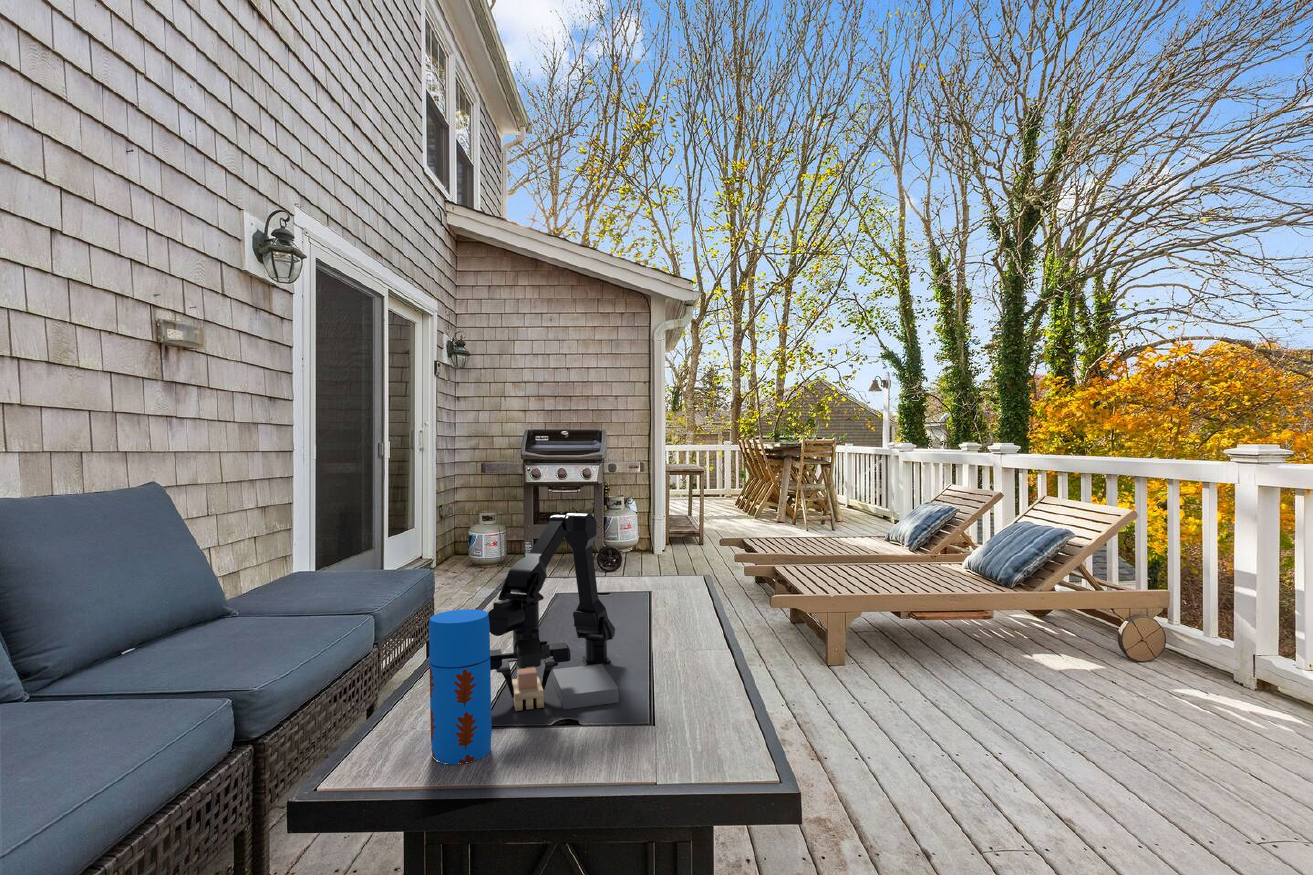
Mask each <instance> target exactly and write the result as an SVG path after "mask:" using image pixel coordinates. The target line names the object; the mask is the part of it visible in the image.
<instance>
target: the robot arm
mask: <svg viewBox="0 0 1313 875" xmlns="http://www.w3.org/2000/svg"><path fill="white" fill-rule="evenodd" d="M547 522H548V524H547V525H546V526H545V528H544V530H543V531H542V533H541V535H540V536H539V537H538V539H537V540H536V542H535V543H534V545H533V547H532V548H531V549H530V551H529V553H527V555H526V556H525V557H523V558H521V559H519V560H518V561H516V563H514V564H513V566H512V567H510V569H509V570H508V572H507V575H506V577H505V580H504V582H503V585H502V587H501V590H500V592H499V595H498V597H497V599H498V601H494V602H493V604H492V608H491V609H490V610H489V611H487V612H488V616H489V623H490V635H493V636H496V637H500V636H504V635H505V634H508V633H510V632H511V633H512V651H513V652H507V653H502V650H501V648H499V649H490V671H495V672H496V673H498V674H499V673H500V674H501V675H503V676H502V677H504V680H505V682H506V684H507V687H508V689H509V690H508V691H509V694H510V697H511V698H512V699H513V697H514V690H513V683H512V679H513V678H512V672H511V671H512V670H511V666H510V663H513V662H516V663H517V667H518V669H526V668H538V667H541V672H540V682H541V685H542V688H543V691H544V692H545V689H546V685H547V682H548V679H549V676H550V673H551V672H552V669H554V668H555V667H558V666H559V663H567V662H571V659H572V658H571V655H572V654H571V649H570V647H569V646H568V644H567V643H566V642H556V643H550V640H543V641H541V640H540V608H539V601H543V600H544V598H545V597H544V596H543V594H541V593H540V591H541V590H542V589H543V587H544V583H545V582H546V579H547V577H548V576H547V567H548V565H549V563H550V561H551V560H552V558H553V557H554V555H555V554H556V551H558V549H559V547H560V545H561V543H562V542H563V540H564V541H565V542H566V543H567V544H568V545H569V547H570V548H571V550H572V556H573V562H574V564H573V565H574V571H575V577H576V578H575V579H576V586H577V595H578V606H577V607H576V609H575V610H574V611H573V613H572V617H573V627H574V628H575V632H576V636H577V638H578V639H584V646H585V647H584V649H585V650H584V652H585V656H582V661H583V662H584V664H585V666H588V665H596V664H602V665H605V664H610V663H612V660H611V659H610V657H609V656H608V641H610V640H611V641H612V640H614V637H615V634H616V633H615V632H616V628H615V627H614V624H613V623H612V621H611V620H610V618H609V617H608V613H607V612H608V611H607V608H606V606H605V605H604V603H602V601H601V600H600V599H599V594H598V586H597V584H598V583H597V576H596V569H595V562H594V554H593V544H594V542H595V539H596V538H597V535H598V534H597V528H598V522H597V518H596V517H595V516H594V515H593V513H590V512H589V513H586V512H585V513H583V512H582V513H580V512H568V513H566V514H553V515H551V516H549V518H548V521H547Z"/></svg>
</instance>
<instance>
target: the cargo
mask: <svg viewBox="0 0 1313 875" xmlns="http://www.w3.org/2000/svg"><path fill="white" fill-rule="evenodd" d="M537 676H538V672H537V669H536V667H526V668H523V669H522V668H518V669H516V679H517V684H518V688H519V689H524V688H533V687H537Z"/></svg>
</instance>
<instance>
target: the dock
mask: <svg viewBox="0 0 1313 875" xmlns="http://www.w3.org/2000/svg"><path fill="white" fill-rule="evenodd" d="M551 672H552V684H553V687H554V688H555V691H556V694H557V696H558V698H559V701H560V704H561V706H562V709H563V710H570V709H578V708H585V707H592V706H593V707H594V706H601V705H608V704H615V703H616V704H617V703H619V702H620V698H619V697H620V695H619V692H620V691H619V687H618V686H617V684H616V683H615V681H614V680H613V678H612V676H611V675H610V674H609V672H608V671H607V669H606V668H605V666H604V664H596V665H581V666H580V665H579V666H571V667H563V668H561V667H560V668H556V669H554V668H553V669H552V670H551Z"/></svg>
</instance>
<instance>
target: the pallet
mask: <svg viewBox="0 0 1313 875" xmlns="http://www.w3.org/2000/svg"><path fill="white" fill-rule="evenodd" d="M512 683H513V690H514V697H513V698H512V701H513V707H514V711H515V712H518V711H519V712H520V711H523V706H524V707H525V709H526V710H534V703H535V706H536V709H541V708H542V709H543V708H545V697H544V695H545V693H544V692H545V690H544V691H543V688H542V685H541V678H540V677H539V676H538V675H537V687H533V688H524V689H519V688H518V684H517V678H512ZM523 703H524V705H523Z"/></svg>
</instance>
